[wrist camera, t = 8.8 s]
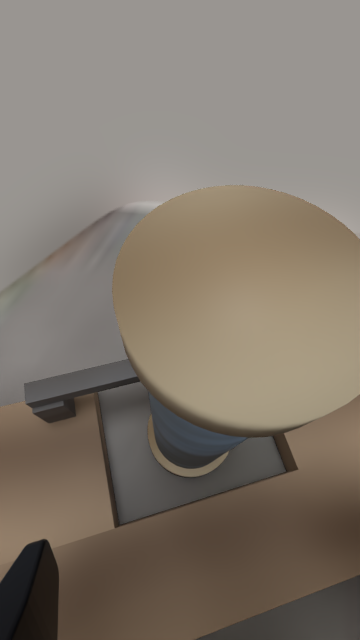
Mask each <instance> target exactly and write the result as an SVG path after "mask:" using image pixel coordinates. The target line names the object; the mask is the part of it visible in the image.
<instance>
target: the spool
mask: <svg viewBox="0 0 360 640" xmlns="http://www.w3.org/2000/svg"><path fill="white" fill-rule="evenodd" d="M112 294H113V303H114V310H115V314H116V317H117V321H118V325H119V329H120V333H121V337H122V340H123V344H124V348H125V352H126V355H127V357H128V359H129V362H130V364H131V366H132V368H133V370H134V371H135V373H136V375H137V376H138V378H139V380H140V381H141V383H142V384H143V385H144V386H145V387H146V389H147V390H148V393H149V400H150V407H151V415H150V417H149V421H148V440H149V444H150V448H151V450H152V453H153V455H154V457H155V458H156V460H157V461H158V462H159V464H160V465H161V466H162V467H163V468H165V469H166V470H167V471H169V472H171V473H173V474H175V475H177V476H181V477H198V476H202V475H205V474H207V473H209V472H211V471H213V470H214V469H215V468H217V467H218V466H219V465H220V464H221V463H222V462H223V461H224V460H225V458H226V457H227V455H228V453H229V451H230V450H231V449H232V448H234V447H235V446H237V445H238V444H240V443H241V442H243V441H244V440H246V439H247V438H251V437H268V436H273V435H278V434H283V433H286V432H289V431H292V430H295V429H298V428H300V427H302V426H304V425H306V424H308V423H310V422H313V421H315V420H317V419H319V418H321V417H323V416H325V415H327V414H329V413H331V412H333V411H335V410H336V409H338V408H340V407H342V406H344V405H346V404H347V403H349V402H350V401H352V400H353V399H354V398H355V397H357V396H358V395H359V394H360V239H359V238H358V237H357V236H356V235H355V234H354V233H353V232H352V231H351V230H350V229H348V228H347V227H346V226H345V225H344V224H342V223H341V222H340V221H339V220H337V219H336V218H335V217H333V216H332V215H330V214H329V213H327V212H325V211H324V210H322V209H320V208H319V207H317V206H315V205H313V204H311V203H309V202H307V201H305V200H303V199H300V198H297V197H295V196H292V195H289V194H286V193H283V192H279V191H276V190H272V189H266V188H261V187H254V186H243V185H239V186H238V185H226V186H216V187H208V188H203V189H198V190H195V191H191V192H188V193H185V194H182V195H180V196H177V197H175V198H173V199H170V200H169V201H167V202H165V203H163V204H162V205H160V206H158V207H157V208H155V209H154V210H153V211H151V212H150V213H149V214H147V215H146V216H145V217H144V218H143V219H142V220H141V221H140V222H139V223H138V224H137V225H136V226H135V228H134V229H133V230H132V231H131V233H130V234H129V235H128V237H127V239H126V240H125V242H124V244H123V246H122V247H121V250H120V253H119V255H118V258H117V260H116V264H115V269H114V274H113V286H112Z"/></svg>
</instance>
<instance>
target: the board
mask: <svg viewBox="0 0 360 640" xmlns="http://www.w3.org/2000/svg"><path fill="white" fill-rule="evenodd" d="M139 381H140V380H139V378H138V376H137V375H136V373H135V371H134V370H133V368H132V366H131V364H130V362H129V359H127V360H122V361H118V362H114V363H110V364H106V365H101V366H97V367H93V368H89V369H84V370H80V371H76V372H72V373H68V374H63V375H59V376H55V377H51V378H46V379H42V380H38V381H34V382H30V383H25V384H24V388H25V401H23V402H19V403H14V404H10V405H6V406H2V407H0V582H1V580H2V579H3V577H4V576H5V575H6V573H7V572H8V570H9V569H10V567H11V566H12V564H13V563H14V561H15V560H16V558H17V557H18V556H19V554H20V553H21V551H22V550H23V548H24V547H25V546H26V545H27V544H29V543H32V542H35V541H38V540H41V539H47V540H48V541H49V543H50V546H51V549H52V551H53V554H54V557H55V559H56V562H57V565H58V569H59V602H58V638H57V640H195V639H197V638H200V637H202V636H205V635H207V634H210V633H212V632H215V631H218V630H220V629H223V628H225V627H228V626H230V625H233V624H235V623H238V622H241V621H243V620H246V619H248V618H251V617H253V616H256V615H258V614H261V613H264V612H266V611H269V610H271V609H274V608H276V607H279V606H281V605H284V604H287V603H289V602H292V601H294V600H297V599H299V598H302V597H304V596H307V595H310V594H312V593H315V592H317V591H320V590H322V589H325V588H327V587H330V586H333V585H335V584H338V583H340V582H343V581H345V580H348V579H350V578H353V577H356V576H358V575H360V394H359V395H358V396H357V397H355V398H354V399H353V400H352V401H350V402H349V403H347V404H346V405H344V406H342V407H340V408H338V409H336V410H335V411H333V412H331V413H329V414H327V415H325V416H323V417H321V418H319V419H317V420H315V421H313V422H310V423H308V424H306V425H304V426H302V427H300V428H298V429H295V430H292V431H289V432H286V433H283V434H278V435H273V437H274V439H275V442H276V445H277V447H278V450H279V452H280V455H281V458H282V460H283V463H284V465H285V468H286V470H287V472H285V473H282V474H278V475H275V476H272V477H269V478H266V479H263V480H260V481H256V482H253V483H250V484H247V485H244V486H241V487H238V488H235V489H231V490H228V491H225V492H222V493H219V494H216V495H213V496H209V497H206V498H203V499H200V500H197V501H194V502H191V503H188V504H184V505H181V506H178V507H175V508H172V509H169V510H166V511H163V512H159V513H156V514H153V515H150V516H147V517H144V518H141V519H137V520H134V521H131V522H128V523H125V524H122V525H119V522H118V516H117V509H116V503H115V497H114V491H113V485H112V479H111V473H110V466H109V460H108V454H107V448H106V442H105V436H104V430H103V423H102V417H101V411H100V405H99V399H98V393H97V392H99V391H103V390H107V389H111V388H115V387H119V386H123V385H127V384H131V383H135V382H139Z"/></svg>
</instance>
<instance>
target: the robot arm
mask: <svg viewBox="0 0 360 640" xmlns="http://www.w3.org/2000/svg"><path fill="white" fill-rule="evenodd" d="M58 602H59V569H58V565H57V562H56V559H55V557H54V554H53V551H52V549H51V546H50V543H49V541H48V540H47V539H41V540H38V541H35V542H32V543H29V544H27V545H26V546H25V547H24V548H23V550H22V551H21V553H20V554H19V556H18V557H17V558H16V560H15V561H14V563H13V564H12V566H11V567H10V569H9V570H8V572H7V573H6V575H5V576H4V577H3V579H2V580H1V582H0V640H57V638H58Z"/></svg>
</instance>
